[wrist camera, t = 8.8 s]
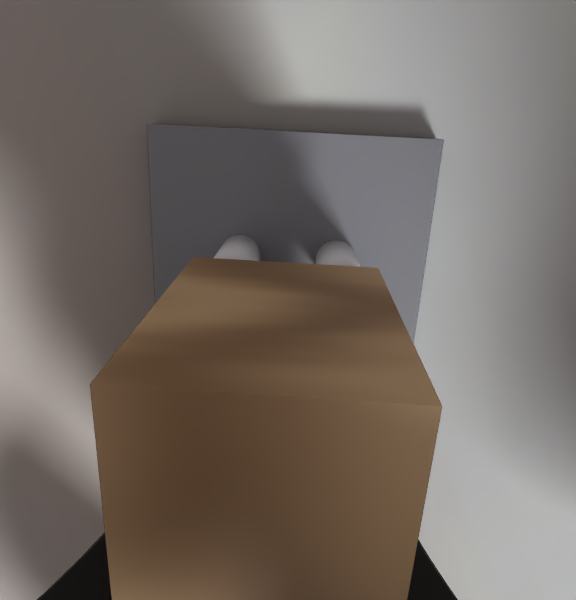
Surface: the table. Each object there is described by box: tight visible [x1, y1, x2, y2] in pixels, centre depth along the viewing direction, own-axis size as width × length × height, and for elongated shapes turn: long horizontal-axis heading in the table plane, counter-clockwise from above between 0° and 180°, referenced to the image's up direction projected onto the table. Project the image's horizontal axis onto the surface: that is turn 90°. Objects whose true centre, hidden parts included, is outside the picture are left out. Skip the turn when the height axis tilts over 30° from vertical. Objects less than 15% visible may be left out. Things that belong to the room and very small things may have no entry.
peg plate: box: [147, 124, 444, 344], centre depth 16 cm, size 8×17×3 cm, turn 177°
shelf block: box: [90, 257, 442, 600], centre depth 11 cm, size 4×12×6 cm, turn 177°
